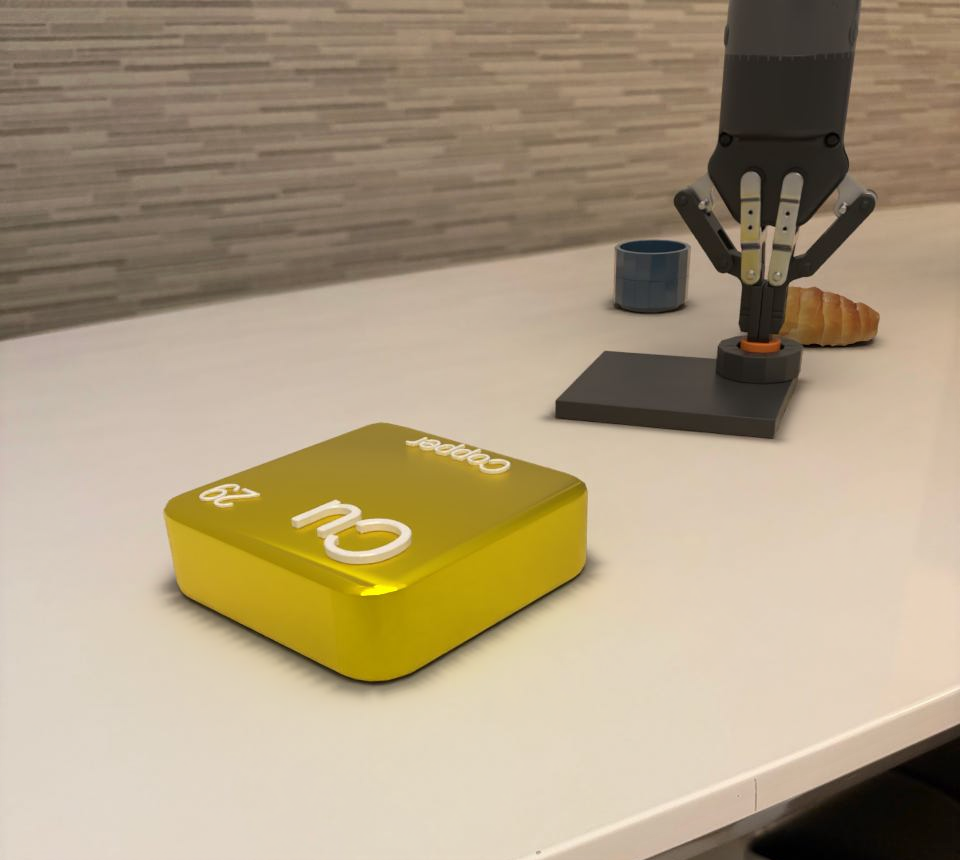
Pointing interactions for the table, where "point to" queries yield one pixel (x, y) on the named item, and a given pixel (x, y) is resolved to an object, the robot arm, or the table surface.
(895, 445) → the table surface
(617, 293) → the blue cup
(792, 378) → the scale
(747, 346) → the button
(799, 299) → the pastry
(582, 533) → the element tile
